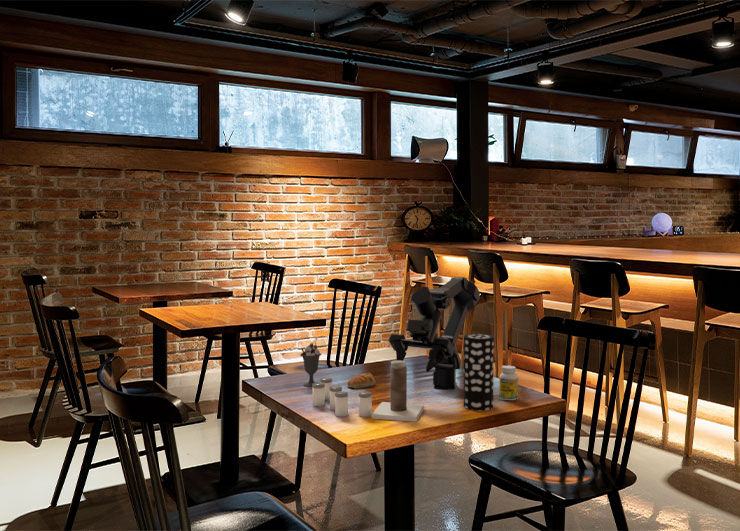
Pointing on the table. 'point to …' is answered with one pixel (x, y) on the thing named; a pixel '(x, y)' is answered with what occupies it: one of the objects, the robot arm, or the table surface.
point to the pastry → (362, 381)
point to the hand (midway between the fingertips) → (412, 369)
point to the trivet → (407, 415)
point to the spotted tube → (478, 371)
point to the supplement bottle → (508, 383)
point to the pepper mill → (398, 386)
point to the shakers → (339, 398)
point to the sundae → (311, 361)
